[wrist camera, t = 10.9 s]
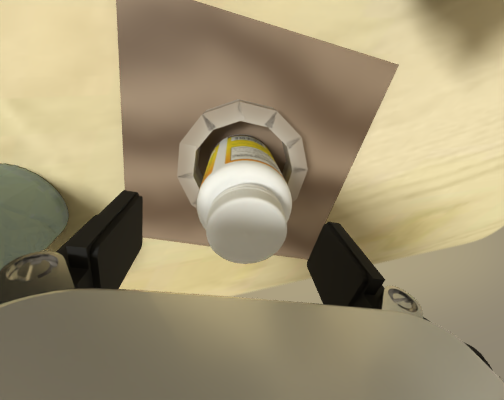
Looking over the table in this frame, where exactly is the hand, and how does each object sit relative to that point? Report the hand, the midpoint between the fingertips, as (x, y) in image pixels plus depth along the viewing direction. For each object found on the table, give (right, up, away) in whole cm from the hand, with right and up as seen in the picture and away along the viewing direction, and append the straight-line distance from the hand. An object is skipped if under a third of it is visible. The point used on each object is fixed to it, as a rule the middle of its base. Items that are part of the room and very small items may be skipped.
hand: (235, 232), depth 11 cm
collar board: (0, +6, +9) cm, 11 cm away
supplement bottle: (0, +5, +8) cm, 10 cm away
